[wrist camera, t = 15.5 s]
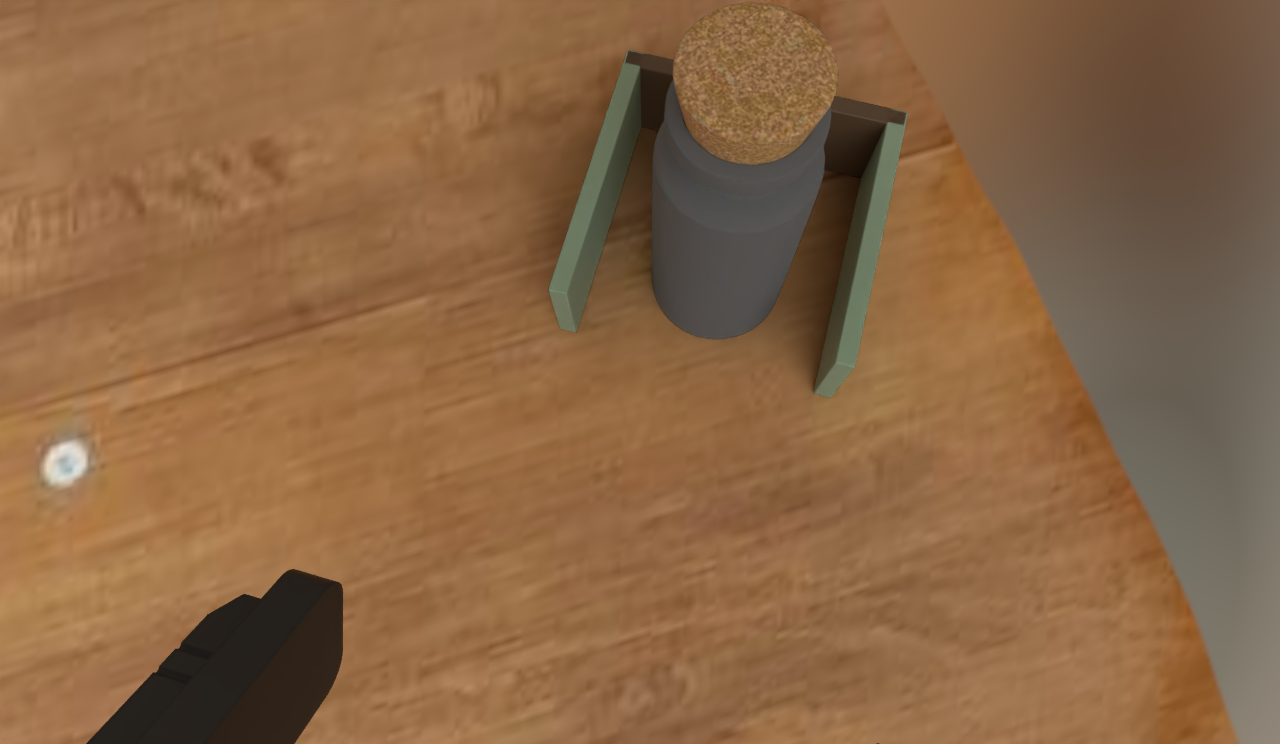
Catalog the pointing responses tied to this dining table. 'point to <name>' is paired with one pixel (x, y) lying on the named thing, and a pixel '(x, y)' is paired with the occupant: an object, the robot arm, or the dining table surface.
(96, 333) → the dining table surface
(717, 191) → the bottle
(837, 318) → the green u-shaped frame
